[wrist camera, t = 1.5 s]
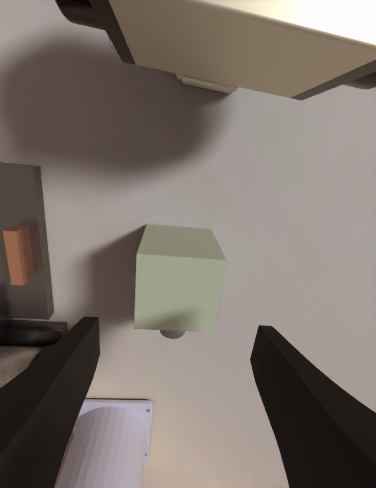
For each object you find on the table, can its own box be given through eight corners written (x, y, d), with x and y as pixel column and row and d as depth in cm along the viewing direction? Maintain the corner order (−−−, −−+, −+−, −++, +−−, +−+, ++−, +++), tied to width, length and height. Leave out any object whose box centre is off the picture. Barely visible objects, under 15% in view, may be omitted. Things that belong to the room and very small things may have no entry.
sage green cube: (200, 300, 22) (210, 352, 16) (143, 297, 21) (133, 349, 16) (210, 228, 20) (226, 260, 14) (147, 223, 19) (136, 253, 14)
